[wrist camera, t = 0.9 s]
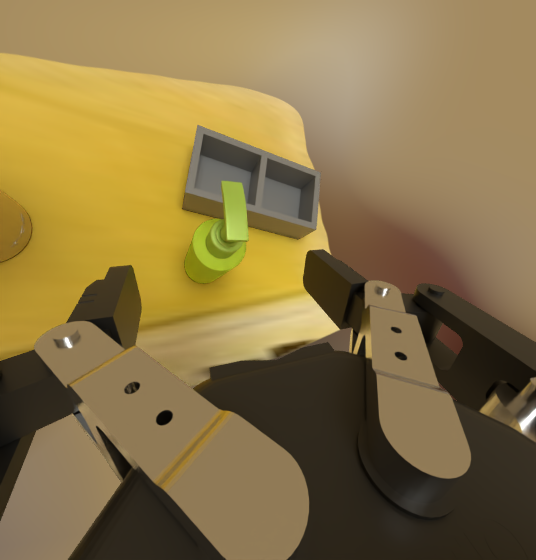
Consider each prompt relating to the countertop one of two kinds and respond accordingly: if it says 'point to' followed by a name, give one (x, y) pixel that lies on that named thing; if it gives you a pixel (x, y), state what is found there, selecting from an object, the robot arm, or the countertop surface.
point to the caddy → (252, 185)
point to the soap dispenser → (220, 238)
